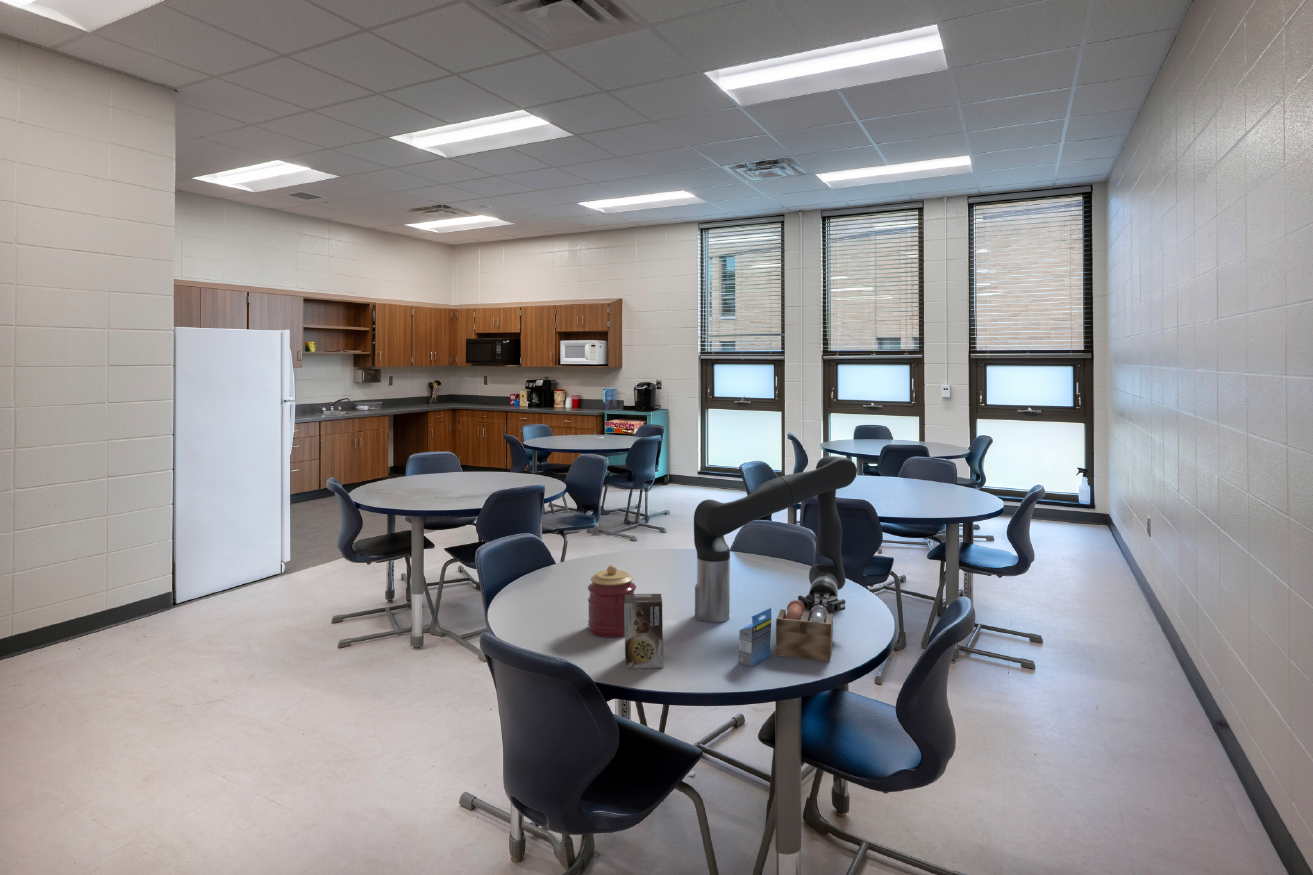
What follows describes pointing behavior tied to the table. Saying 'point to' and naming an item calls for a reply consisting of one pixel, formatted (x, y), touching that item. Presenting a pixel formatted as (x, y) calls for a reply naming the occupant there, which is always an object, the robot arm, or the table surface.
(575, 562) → the table surface
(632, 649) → the coffee box
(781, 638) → the wooden plug holder
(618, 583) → the canister
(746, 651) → the label tape box
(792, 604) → the brick plug
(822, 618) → the steel plug
